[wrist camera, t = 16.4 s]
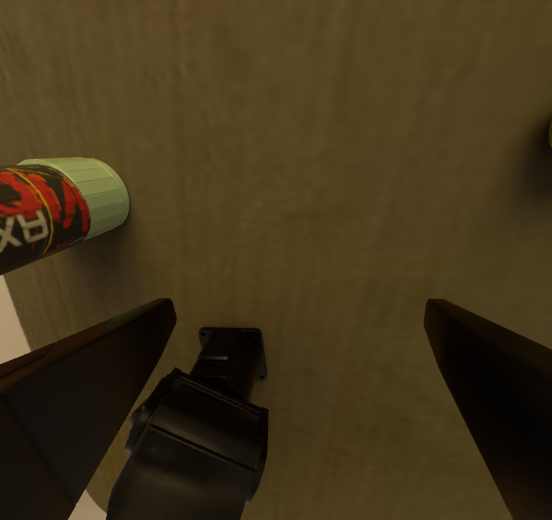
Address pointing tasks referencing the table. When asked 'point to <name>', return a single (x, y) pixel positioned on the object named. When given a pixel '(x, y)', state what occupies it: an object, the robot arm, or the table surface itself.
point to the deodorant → (38, 214)
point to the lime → (550, 134)
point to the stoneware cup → (94, 190)
